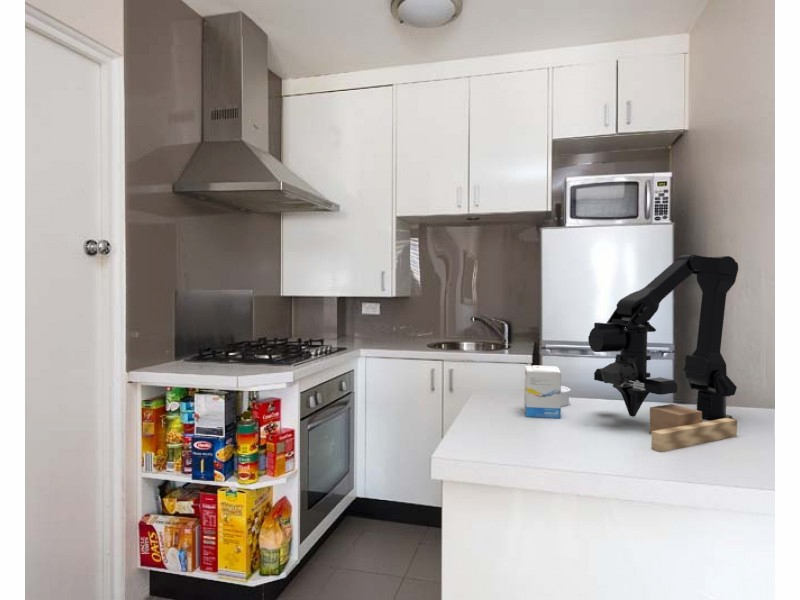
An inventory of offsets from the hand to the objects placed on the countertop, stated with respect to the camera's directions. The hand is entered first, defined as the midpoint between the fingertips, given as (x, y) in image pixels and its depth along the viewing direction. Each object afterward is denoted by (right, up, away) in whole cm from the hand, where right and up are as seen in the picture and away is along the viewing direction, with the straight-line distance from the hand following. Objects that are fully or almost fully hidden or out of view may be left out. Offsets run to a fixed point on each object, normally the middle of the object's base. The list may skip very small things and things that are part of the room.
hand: (632, 416), depth 115 cm
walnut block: (+4, -2, -10) cm, 11 cm away
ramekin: (-13, -1, +19) cm, 23 cm away
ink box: (-19, -2, +8) cm, 21 cm away
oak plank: (+6, -2, -14) cm, 16 cm away
